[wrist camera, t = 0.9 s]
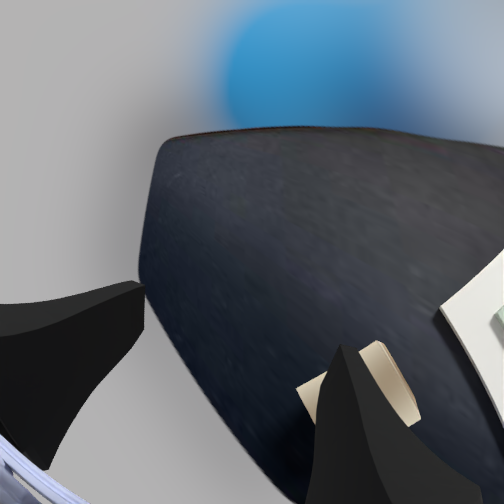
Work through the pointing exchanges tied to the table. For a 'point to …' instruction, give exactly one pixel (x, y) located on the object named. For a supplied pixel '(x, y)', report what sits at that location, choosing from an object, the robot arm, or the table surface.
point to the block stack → (386, 379)
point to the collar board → (482, 327)
